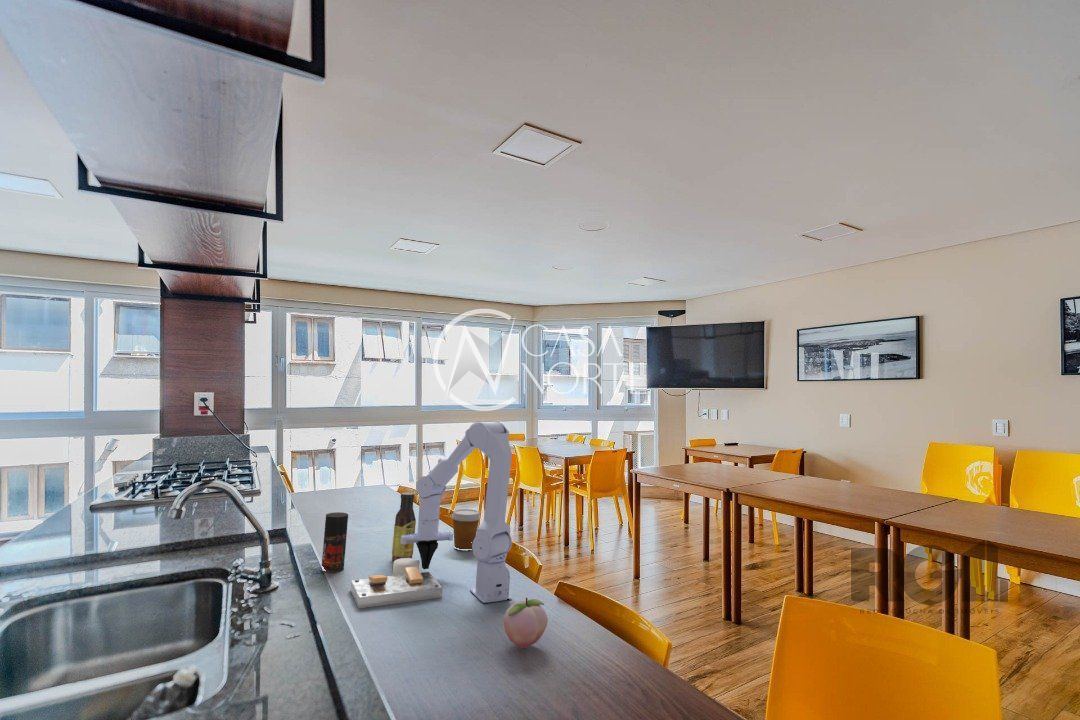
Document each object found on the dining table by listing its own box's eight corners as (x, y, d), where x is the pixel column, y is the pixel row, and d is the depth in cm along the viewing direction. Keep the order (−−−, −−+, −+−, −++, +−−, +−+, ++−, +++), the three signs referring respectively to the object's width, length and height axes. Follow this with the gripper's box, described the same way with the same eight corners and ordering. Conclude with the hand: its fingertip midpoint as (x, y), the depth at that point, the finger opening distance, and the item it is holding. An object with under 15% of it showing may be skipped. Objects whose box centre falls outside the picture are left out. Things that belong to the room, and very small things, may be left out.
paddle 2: (422, 582, 133) (423, 578, 132) (410, 583, 131) (410, 579, 131) (416, 569, 138) (417, 566, 138) (404, 571, 136) (405, 567, 136)
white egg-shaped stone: (421, 579, 143) (422, 564, 143) (395, 582, 139) (397, 567, 140) (414, 571, 149) (415, 556, 149) (389, 574, 146) (391, 559, 146)
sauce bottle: (406, 564, 154) (412, 496, 155) (387, 562, 155) (392, 494, 157) (416, 558, 160) (421, 492, 162) (397, 556, 161) (402, 490, 163)
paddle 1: (387, 581, 128) (387, 577, 128) (373, 583, 127) (374, 578, 127) (381, 578, 133) (381, 574, 133) (368, 580, 132) (369, 576, 132)
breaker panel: (441, 597, 130) (442, 584, 131) (358, 608, 121) (359, 594, 121) (427, 581, 141) (428, 569, 141) (350, 590, 132) (351, 577, 132)
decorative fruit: (522, 633, 113) (525, 586, 114) (552, 647, 108) (555, 597, 108) (492, 648, 106) (495, 597, 106) (522, 662, 100) (525, 609, 101)
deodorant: (316, 569, 145) (321, 514, 146) (333, 564, 150) (338, 511, 152) (331, 574, 142) (336, 518, 144) (348, 568, 148) (352, 514, 149)
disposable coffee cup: (463, 554, 167) (466, 516, 168) (443, 548, 172) (446, 511, 173) (484, 548, 174) (486, 512, 175) (464, 542, 180) (466, 507, 181)
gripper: (448, 514, 155) (445, 561, 154) (399, 517, 148) (395, 566, 147) (456, 519, 149) (453, 568, 148) (405, 522, 142) (402, 574, 141)
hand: (425, 568), depth 147 cm, fingers closed
